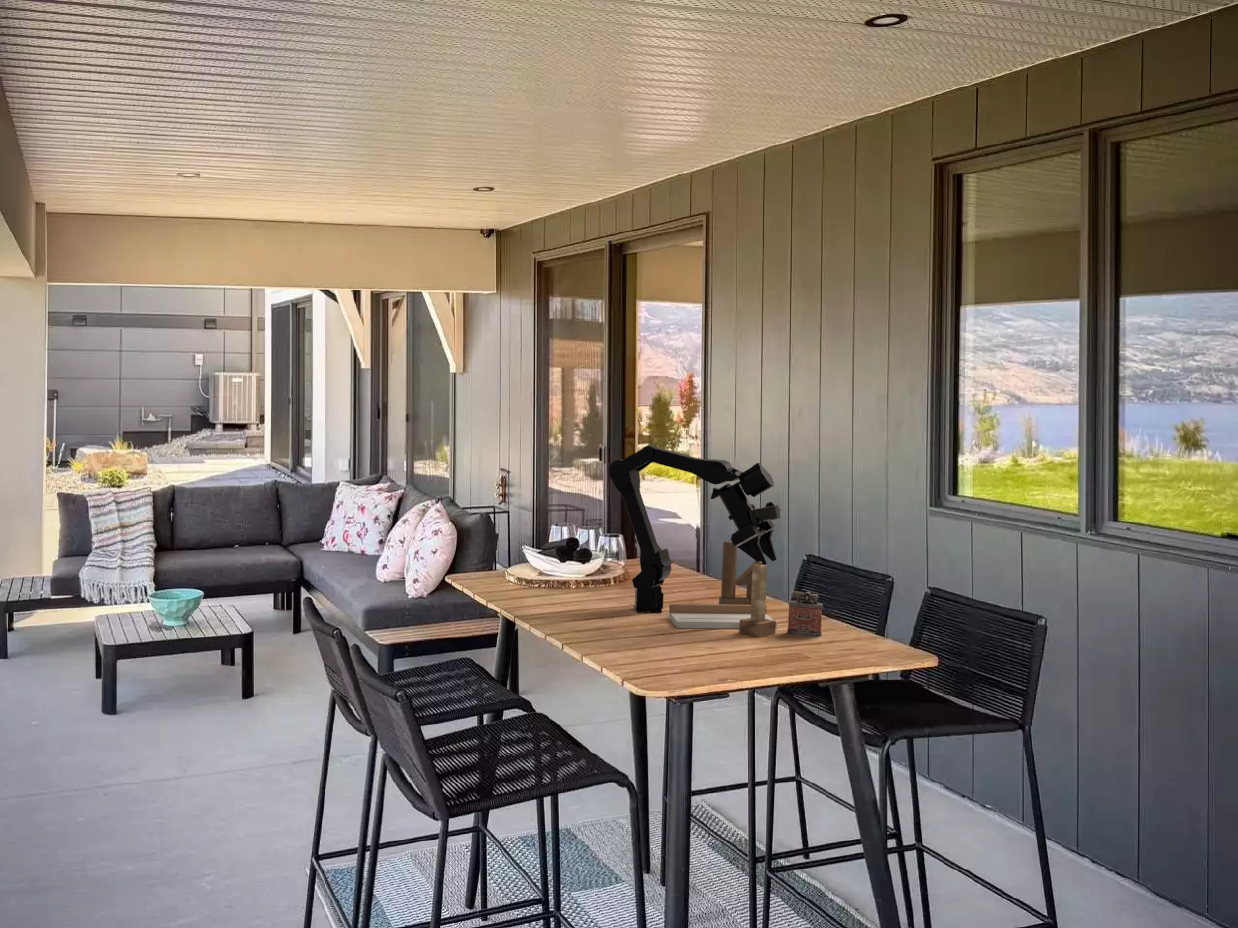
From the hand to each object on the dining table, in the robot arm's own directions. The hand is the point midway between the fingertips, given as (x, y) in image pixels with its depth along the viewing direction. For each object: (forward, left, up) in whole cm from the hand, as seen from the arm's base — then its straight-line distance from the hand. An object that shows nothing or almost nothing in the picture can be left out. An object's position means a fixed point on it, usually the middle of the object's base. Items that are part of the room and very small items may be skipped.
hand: (769, 562), depth 285 cm
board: (-11, 0, -15) cm, 19 cm away
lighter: (+6, -12, -15) cm, 20 cm away
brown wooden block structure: (-3, +15, -15) cm, 22 cm away
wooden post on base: (-5, -11, -15) cm, 19 cm away
